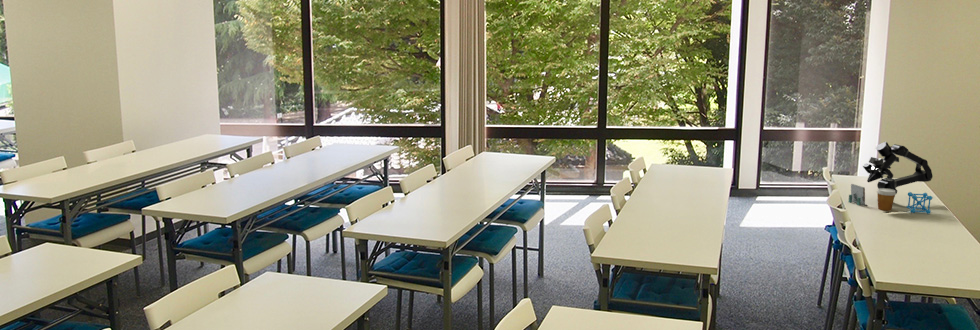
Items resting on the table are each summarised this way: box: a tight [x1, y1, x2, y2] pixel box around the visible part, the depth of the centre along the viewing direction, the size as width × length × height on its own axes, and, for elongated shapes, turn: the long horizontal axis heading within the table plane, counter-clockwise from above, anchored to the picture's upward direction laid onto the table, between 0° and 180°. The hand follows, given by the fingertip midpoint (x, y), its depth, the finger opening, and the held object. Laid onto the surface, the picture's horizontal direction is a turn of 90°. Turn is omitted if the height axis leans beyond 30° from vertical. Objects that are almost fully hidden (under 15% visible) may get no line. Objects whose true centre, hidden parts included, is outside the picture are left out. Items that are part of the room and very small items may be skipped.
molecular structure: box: [906, 191, 933, 215], centre depth 425 cm, size 10×10×10 cm
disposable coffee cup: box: [876, 188, 897, 214], centre depth 425 cm, size 10×10×12 cm
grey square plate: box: [850, 183, 866, 206], centre depth 438 cm, size 1×10×11 cm, turn 13°
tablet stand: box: [847, 194, 869, 207], centre depth 440 cm, size 10×13×6 cm
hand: (867, 181), depth 438 cm, fingers closed
